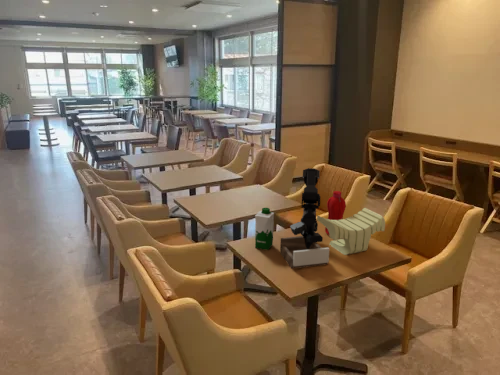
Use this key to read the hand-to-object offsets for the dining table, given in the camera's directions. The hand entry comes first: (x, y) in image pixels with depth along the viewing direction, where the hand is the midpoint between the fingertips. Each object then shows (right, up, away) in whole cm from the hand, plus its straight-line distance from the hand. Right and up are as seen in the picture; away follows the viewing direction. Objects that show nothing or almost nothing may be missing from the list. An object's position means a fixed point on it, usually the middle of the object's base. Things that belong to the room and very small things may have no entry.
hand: (307, 248), depth 177 cm
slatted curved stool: (+24, -3, +18) cm, 30 cm away
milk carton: (-20, -2, +20) cm, 28 cm away
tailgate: (+1, -6, -2) cm, 7 cm away
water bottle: (+21, +2, +35) cm, 41 cm away
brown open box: (-1, -6, +6) cm, 9 cm away
